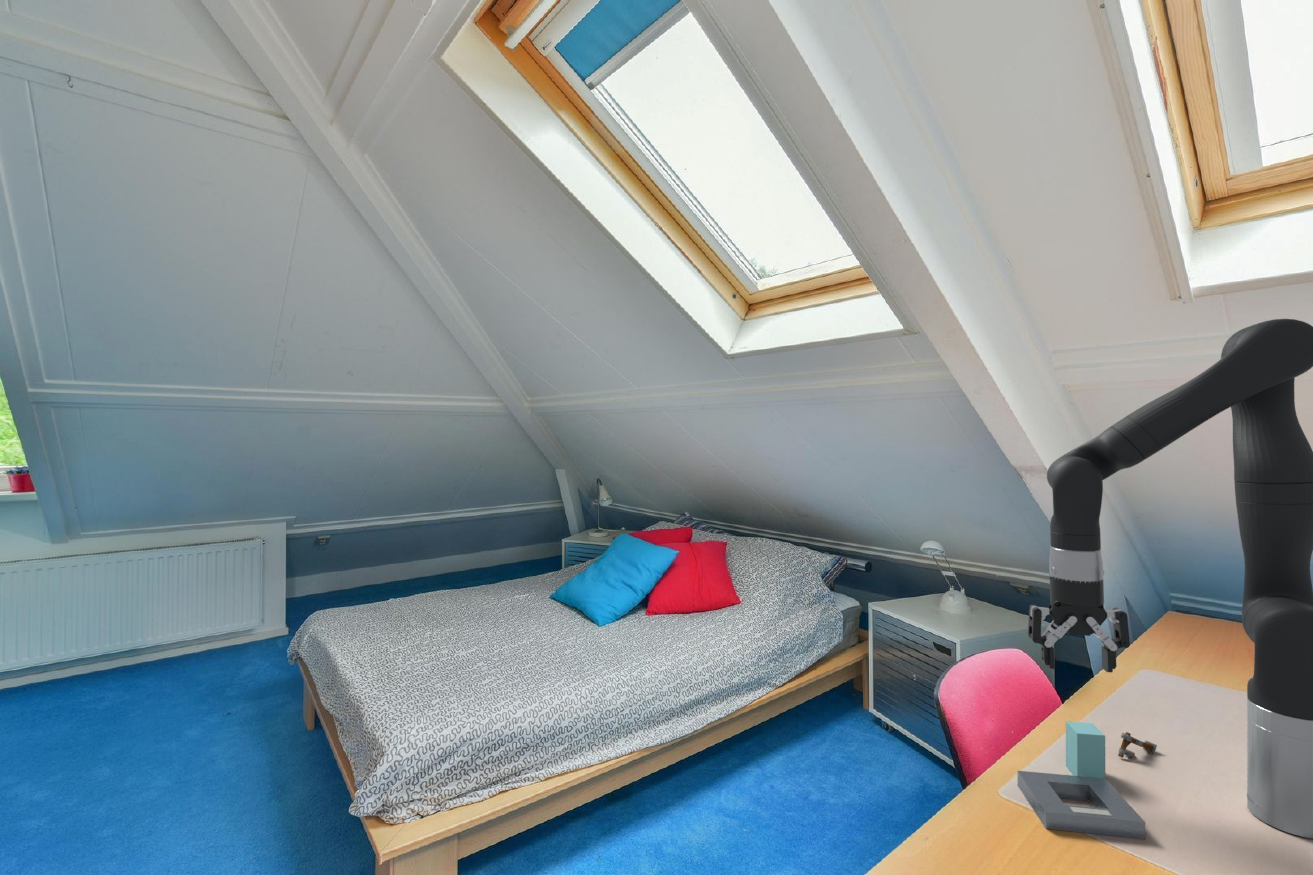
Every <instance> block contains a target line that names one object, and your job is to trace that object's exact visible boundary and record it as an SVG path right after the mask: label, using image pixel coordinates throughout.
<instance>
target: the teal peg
mask: <svg viewBox="0 0 1313 875" xmlns="http://www.w3.org/2000/svg"><path fill="white" fill-rule="evenodd" d="M1065 767H1066V768H1067V769H1068V771H1069V772H1070V773H1071V774H1072V776H1084V777H1095V778H1105V779H1106V735H1105V733H1103V732H1102V730H1100V729H1099V728H1098V727H1097V726H1096V725H1095V724H1094V723H1091V722H1080V721H1079V722H1078V721H1066V720H1065Z"/></svg>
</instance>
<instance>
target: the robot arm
mask: <svg viewBox="0 0 1313 875" xmlns="http://www.w3.org/2000/svg"><path fill="white" fill-rule="evenodd" d="M1312 368H1313V325H1311V324H1310V323H1307V322H1306V321H1303V320H1298V319H1293V318H1278V319H1277V318H1275V319H1269V320H1265V321H1261V322H1259V323H1256V324H1252V325H1250V326H1247V327H1244V328H1241V329H1240V330H1238V331H1236V332H1235V333H1234V334H1231V335H1230V337H1228V339H1227V340H1226V342H1225V344H1224V345H1223V347H1222V350H1221V354H1220V359H1219V360H1218V361H1216V362H1215V363H1214V364H1212V365H1211V366H1210V367H1208V368H1207V369H1206V370H1205V371H1204V370H1203V371H1202V372H1201V373H1200V374H1198V375H1196V376H1195V377H1193V378H1192V379H1190V380H1188V381H1187V382H1185V383H1183V384H1181V385H1180V386H1178V387H1176V388H1174V389H1172V390H1170V391H1168V392H1167V393H1165V394H1162V395H1161V396H1159V397H1157V398H1155V399H1154V400H1152V401H1150V402H1148V403H1145V404H1144V405H1142V406H1141V407H1139V408H1137V409H1136V410H1134V411H1133V412H1131V413H1129V414H1127V415H1126V416H1124V417H1123V418H1121V419H1120V420H1118V421H1116V423H1114V424H1112V425H1110V426H1109V427H1108V428H1106V429H1105V430H1104V431H1102V432H1101V433H1100V434H1099V435H1096V436H1095V437H1094V438H1093V439H1090V440H1088V441H1086V442H1085V443H1083V444H1082V443H1081V445H1078V446H1077V447H1075V448H1074V449H1071V450H1069V451H1068V452H1067V453H1064V454H1063V455H1061V456H1059V457H1058V458H1057V459H1056V460H1054V461H1052V463H1051V464H1050V465H1049V467H1048V469H1047V471H1046V480H1047V484H1048V485H1049V487H1051V489H1052V490H1051V491H1052V508H1053V509H1052V510H1053V512H1052V513H1053V514H1052V516H1051V518H1050V522H1049V523H1050V526H1049V530H1050V531H1049V532H1050V549H1049V559H1048V560H1049V562H1048V564H1049V570H1048V571H1049V599H1050V600H1049V601H1050V602H1049V606H1048V607H1043V606H1037V605H1035V604H1030V605H1029V606H1028V607H1029V608H1028V622H1027V623H1028V624H1027V625H1028V626H1027V627H1028V628H1027V636H1028V638H1029V639H1030V640H1032V642H1033V643H1035V644H1039V645H1040V653H1041V654H1040V655H1041V656H1040V658H1041V661H1042V663H1043V664H1044V665H1045V666H1046V667H1047V668H1048V669H1049V670H1055V648H1054V647H1053V646H1054V644H1055V643H1056V642H1057V641H1058V640H1060V639H1062V638H1063V637H1064V635H1065V634H1068V635H1070V636H1076V635H1082V636H1085V637H1086V636H1087V637H1088V636H1089V637H1090V636H1091V635H1093V636H1095V637H1097V639H1098V640H1099V642H1100V643H1101V644H1102V645H1103V646H1101V668H1102V669H1103V670H1104V671H1105V672H1106V673H1113V671H1114V670H1116V668H1117V651H1118V650H1119V649H1122V648H1124V649H1126V648H1130V646H1131V642H1130V631H1129V620H1128V614H1127V612H1125V611H1123V609H1120V608H1118V607H1113V608H1112V609H1105V607H1104V606H1105V605H1104V603H1105V595H1104V592H1105V591H1104V590H1105V588H1104V584H1105V583H1104V575H1105V570H1104V563H1103V562H1104V561H1103V556H1102V551H1101V550H1102V546H1101V545H1102V544H1101V543H1102V542H1101V538H1102V537H1101V526H1100V516H1101V511H1102V504H1103V493H1104V492H1103V491H1104V485H1103V484H1104V482H1103V481H1105V479H1108V478H1109V477H1111V476H1113V475H1115V474H1116V473H1117V472H1119V471H1121V470H1125V469H1130V468H1133V467H1135V466H1136V465H1139V464H1140V463H1142V462H1144V460H1147V459H1149V458H1150V457H1152V456H1154V455H1155V454H1157V453H1158V452H1160V451H1161V450H1163V449H1164V448H1166V447H1168V446H1170V445H1171V444H1173V443H1174V442H1176V441H1178V440H1179V439H1180V438H1182V437H1183V436H1185V435H1186V434H1188V433H1190V432H1191V431H1193V430H1194V429H1195V428H1198V427H1199V426H1201V425H1202V424H1204V423H1205V422H1207V421H1208V420H1210V419H1212V418H1213V417H1215V416H1217V415H1219V414H1220V413H1222V412H1224V411H1226V410H1228V409H1229V408H1230V411H1231V416H1232V417H1231V418H1232V419H1231V420H1232V455H1233V468H1234V469H1233V474H1234V475H1233V480H1234V493H1235V494H1234V496H1235V507H1236V512H1237V522H1238V528H1239V534H1240V535H1239V537H1240V542H1241V547H1242V552H1243V560H1244V561H1243V562H1244V579H1243V580H1244V581H1243V594H1242V596H1243V597H1242V607H1241V623H1242V628H1243V630H1244V633H1246V635H1247V637H1248V639H1249V640H1250V641H1252V642H1253V644H1254V657H1253V658H1254V660H1253V675H1252V676H1253V677H1251V678H1250V679H1249V680H1247V687H1246V688H1247V690H1246V691H1247V692H1246V694H1247V695H1246V697H1247V698H1246V705H1247V706H1246V708H1247V709H1246V710H1247V711H1246V712H1247V713H1246V715H1247V716H1246V719H1247V720H1246V721H1247V724H1246V725H1247V728H1246V729H1247V730H1246V734H1247V735H1246V738H1247V739H1246V740H1247V742H1246V746H1247V748H1246V750H1247V751H1246V752H1247V754H1246V755H1247V758H1246V759H1247V761H1246V765H1247V766H1246V770H1247V771H1246V773H1247V774H1246V778H1247V779H1246V782H1247V784H1246V787H1247V788H1246V800H1247V801H1246V802H1247V803H1246V804H1247V806H1246V807H1247V809H1248V810H1249V812H1250V813H1251V814H1252V815H1253V816H1255V817H1256V818H1257V819H1258V820H1260V821H1262V822H1263V823H1265V824H1267V825H1269V826H1271V827H1272V828H1276V829H1278V830H1280V831H1283V832H1285V833H1288V834H1292V835H1295V836H1299V837H1302V838H1307V839H1312V840H1313V582H1312V578H1311V577H1312V575H1311V559H1312V555H1313V448H1312V446H1311V445H1310V442H1309V441H1308V438H1307V437H1306V434H1305V432H1304V431H1303V428H1302V426H1301V424H1300V421H1299V419H1298V416H1297V415H1298V414H1297V411H1296V410H1297V409H1296V401H1295V399H1296V398H1295V378H1296V377H1299V376H1301V375H1304V374H1305V373H1307V372H1308V371H1309V370H1311V369H1312ZM1048 615H1049V617H1050V618H1051V619H1052V621H1051V622H1050V623H1049V624H1048V625H1047V626H1046V630H1045V631H1044V632H1043V633H1042V621H1044V620H1045V619H1046V616H1048ZM1107 618H1108V620H1109V621H1110V622H1111V623H1112V626H1113V636H1114V637H1113V638H1111V637H1110V636H1109V634H1107V632H1106V630H1104V629H1103V627H1102V626H1101V625H1103V624H1104V622H1105V621H1106V620H1107Z"/></svg>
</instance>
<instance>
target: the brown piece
mask: <svg viewBox="0 0 1313 875" xmlns="http://www.w3.org/2000/svg"><path fill="white" fill-rule="evenodd" d="M1120 738H1121V739H1123V740H1122V742H1121V745H1120V747H1119V748H1118V753H1117V756H1118V757H1120V758H1124V757H1125V756H1126V757H1128V758H1133V757H1134V758H1135V752H1134V751H1131V750H1129V749H1128V746H1130V744H1133V745H1135V746H1138V747H1141V748H1142V750H1143V749H1145V750H1146V751H1145V750H1144V751H1145V752H1148V753H1150V754H1152V753H1155V754H1156V749H1157V747H1158V745H1157V744H1155V743H1153V742H1151V741H1149V740H1147V739H1146V740H1144V741H1142V740H1139V739H1138V738H1135V737H1133V736H1132V734H1131V733H1130V732H1128V731H1126V732H1122V733H1121V734H1120ZM1130 756H1131V757H1130Z"/></svg>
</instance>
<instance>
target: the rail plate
mask: <svg viewBox="0 0 1313 875" xmlns="http://www.w3.org/2000/svg"><path fill="white" fill-rule="evenodd" d="M1017 787H1018V788H1019V790H1020V791H1021V793H1022V794H1023V796H1024V797H1025V799H1026V801H1027V802H1028V804H1029V805H1030V807H1031V809H1032V810H1033V811H1034V813H1035V814H1036V816H1037V817H1038V818H1039V820H1040V822H1041V824H1042V825H1043V827H1044V828H1045V829H1046V830H1053V831H1055V830H1056V831H1065V832H1074V833H1082V834H1083V833H1084V834H1093V835H1103V836H1111V837H1121V838H1129V839H1130V838H1131V839H1141V840H1145V839H1146V821H1145V820H1144V819H1143V818H1142V817H1141V816H1140V814H1138V813H1137V811H1136V810H1135V809H1134V808H1133V807H1132V806H1131V805H1130V804H1129V803H1128V801H1127V800H1126V799H1125V798H1124V797H1123V795H1121V794H1120V793H1119V792H1118V790H1116V788H1115V787H1114V786H1113V785H1112V784H1111V782H1109V781H1108V780H1107V779H1106V777H1105V778H1095V777H1084V776H1074V775H1073V774H1072V775H1071V774H1058V773H1048V772H1039V771H1037V772H1036V771H1025V770H1017ZM1062 799H1067V800H1077V801H1078V800H1079V801H1087V800H1088V801H1089V802H1090V804H1091V805H1092V806H1084V805H1073V804H1064V802H1063V801H1062Z"/></svg>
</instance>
